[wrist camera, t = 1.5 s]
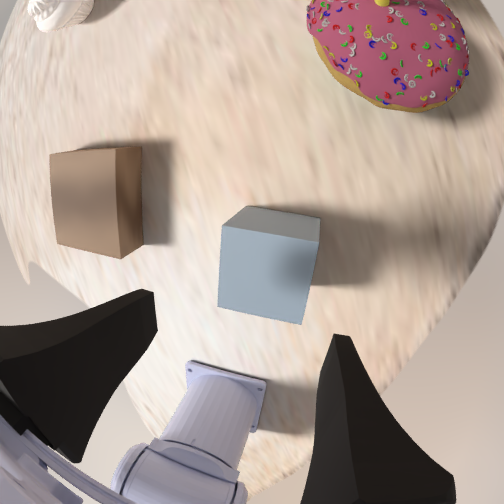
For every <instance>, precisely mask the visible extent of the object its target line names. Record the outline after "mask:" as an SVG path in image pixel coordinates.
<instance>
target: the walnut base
mask: <svg viewBox="0 0 504 504" xmlns="http://www.w3.org/2000/svg"><path fill="white" fill-rule="evenodd" d="M141 158H142V147H115V148H98V149H85V150H74V151H67V152H61V153H55V154H50V182H51V196H52V207H53V216H54V224H55V232H56V238H57V244H60V245H64V246H68V247H72V248H76V249H80V250H84V251H88V252H92V253H97V254H101V255H105V256H109V257H114V258H118V259H122V258H124V257H125V256H127V255H128V254H130V253H131V252H133V251H135V250H136V249H138V248H139V247H141V246H142V245H144V244H143V227H142V197H141Z"/></svg>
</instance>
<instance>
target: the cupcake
mask: <svg viewBox="0 0 504 504" xmlns="http://www.w3.org/2000/svg"><path fill="white" fill-rule="evenodd" d="M306 9H307V28H308V31H309V32H310V34H312V35H313V39H314V43H315V46H316V50H317V52H318V54H319V56H320V58H321V59H322V61H323V62H324V64H325V65H326V67H327V68H328V70H329V71H330V73H331V74H332V76H333V77H334V78H335V79H336V80H337V81H338V82H339V83H340V84H342V85H343V86H344V87H346V88H347V89H349V90H351V91H352V92H354V93H356V94H357V95H359V96H361V97H363V98H365V99H366V100H368V101H369V102H371V103H372V104H374V105H376V106H378V107H381V108H385V109H392V110H400V111H406V112H413V113H419V112H423V111H427V110H430V109H432V108H435V107H438V106H441V105H443V104H445V103H447V102H448V101H449V100H450V99H451V98H452V97H453V96H454V95H455V94H456V93H457V92H458V91H459V89H460V88H461V86H462V84H463V82H464V79H465V76H467V75H469V71H468V70H467V68H468V64H469V50H468V45H467V41H466V38H465V35H464V30H463V28H462V26H461V24H460V21H459V19H458V18H456V17H455V16H454V15H453V11H452V9H451V10H450V9H449V8H448V6H447V5H446V4H445V3H444V2H443V0H312V1H311V3H310V5H309V6H307V7H306ZM466 72H467V73H466Z"/></svg>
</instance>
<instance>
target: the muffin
mask: <svg viewBox="0 0 504 504" xmlns="http://www.w3.org/2000/svg"><path fill="white" fill-rule="evenodd" d="M93 6H94V0H30V1H29V4H28V13H29V15H30V16H33V17H34V20H36V22H37V26H38V28H39V30H41V31H43V32H51V31H56V30H57V31H58V30H61V29H64V28H67V27H70V26H73V25H77V24H79V23H81V22H82V21H84V20H85V19H86V18H87V17H88V15H89V14H90V12H91V11H92V8H93Z"/></svg>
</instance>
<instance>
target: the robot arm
mask: <svg viewBox="0 0 504 504" xmlns="http://www.w3.org/2000/svg"><path fill="white" fill-rule="evenodd" d="M157 331H158V329H157V320H156V312H155V302H154V292H151V291H147V290H144V289H139V290H136V291H133V292H131V293H128V294H125V295H123V296H120V297H118V298H116V299H113V300H111V301H108V302H106V303H103V304H101V305H98V306H96V307H93V308H90V309H88V310H85V311H83V312H79V313H77V314H74V315H70V316H67V317H63V318H60V319H56V320H51V321H46V322H41V323H35V324H29V325H17V326H0V504H82V503H83V499H82V498H80V497H79V496H77V495H76V494H75V493H73V492H72V491H71V490H69V489H68V488H67V487H65V486H64V485H63V484H62V483H60V482H59V481H58V480H56V479H55V478H54V477H53V476H52V475H50V474H49V473H48V471H47V469H48V468H47V466H48V467H50V468H51V469H52V470H54V471H55V472H56V473H57V474H59V475H60V476H61V477H62V478H64V479H65V480H67V481H68V482H69V483H71V484H72V485H73V486H75V487H76V488H78V489H79V490H81V491H82V492H84V493H85V494H87V495H88V496H90V497H91V498H93V499H95V500H96V501H98V502H99V503H102V504H246V502H247V496H248V491H247V489H246V488H245V485H244V483H243V482H239V481H237V479H238V476H239V473H240V472H239V471H237V467H238V464H239V461H240V459H241V456H242V453H243V450H244V447H245V444H246V441H247V438H248V435H249V432H251V433H254V432H256V429H257V425H258V421H259V416H260V412H261V408H262V403H263V399H264V394H265V390H266V385H267V384H266V382H265V381H263V380H259V379H254V378H250V377H246V376H242V375H238V374H234V373H230V372H227V371H223V370H219V369H216V368H212V367H209V366H205V365H202V364H199V363H195V362H192V361H188V362H187V363H186V365H185V366H186V379H187V392H186V393H185V395H184V397H183V399H182V400H181V402H180V404H179V405H178V407H177V409H176V411H175V412H174V414H173V416H172V418H171V419H170V421H169V423H168V424H167V426H166V428H165V430H164V431H163V433H162V435H161V436H160V438H159V439H158V438H154V439H153V440H152V442H151V444H150V445H148V444H146V443H141V444H138V445H135V446H133V447H131V448H130V449H129V450H128V451H127V453H126V454H125V455H124V457H123V458H122V459H121V461H120V463H119V464H118V466H117V468H116V470H115V472H114V475H113V478H112V481H111V489H109V488H107V487H106V486H104V485H102V484H101V483H99V482H97V481H96V480H94V479H92V478H90V477H89V476H88V475H86V474H84V473H83V472H82V471H80V470H79V469H77V468H76V467H74V466H73V465H71V464H70V463H69V462H67V461H66V460H65V459H63V458H62V457H60V456H59V455H58V454H57V453H55V452H54V451H53V450H56V451H57V452H58V453H60V454H61V455H62V456H64V457H65V458H67V459H68V460H69V461H71V462H72V463H80V462H81V461H82V458H83V455H84V452H85V449H86V447H87V444H88V441H89V439H90V437H91V434H92V432H93V430H94V428H95V426H96V423H97V421H98V420H99V418H100V416H101V414H102V412H103V410H104V408H105V406H106V405H107V403H108V401H109V400H110V398H111V396H112V395H113V393H114V391H115V390H116V389H117V387H118V386H119V384H120V383H121V382H122V381H123V379H124V378H125V377H126V376H127V374H128V373H129V372H130V370H131V369H132V368H133V367H134V365H135V364H136V363H137V362H138V360H139V359H140V358H141V357H142V355H143V354H144V353H145V351H146V350H147V349H148V347H149V345H150V344H151V342H152V340H153V339H154V337H155V335H156V333H157ZM48 446H49V447H51V448H52V449H53V450H51V449H50V448H49V447H48ZM455 503H456V490H455V482H454V477H453V475H452V474H450V473H449V472H448V471H446V470H445V469H444V468H443V467H441V466H440V465H439V464H437V463H436V462H435V461H434V460H433V459H431V458H430V457H429V456H428V455H427V454H426V453H425V452H424V451H423V450H422V449H421V448H420V447H419V446H418V445H417V444H416V443H415V442H414V441H413V440H412V438H411V437H410V436H409V435H408V434H407V433H406V432H405V431H404V429H403V428H402V427H401V426H400V424H399V423H398V422H397V421H396V419H395V418H394V417H393V415H392V414H391V412H390V411H389V410H388V408H387V407H386V405H385V403H384V402H383V401H382V399H381V397H380V395H379V394H378V392H377V390H376V388H375V387H374V385H373V383H372V381H371V379H370V377H369V375H368V373H367V372H366V370H365V368H364V366H363V363H362V361H361V359H360V357H359V355H358V353H357V351H356V348H355V346H354V344H353V341H352V339H351V338H350V336H345V335H339V334H334V335H333V338H332V341H331V343H330V346H329V349H328V352H327V355H326V358H325V360H324V363H323V366H322V369H321V371H320V377H319V384H318V390H317V400H316V419H315V435H314V446H313V454H312V459H311V463H310V468H309V473H308V477H307V481H306V485H305V489H304V493H303V496H302V500H301V503H300V504H455Z"/></svg>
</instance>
